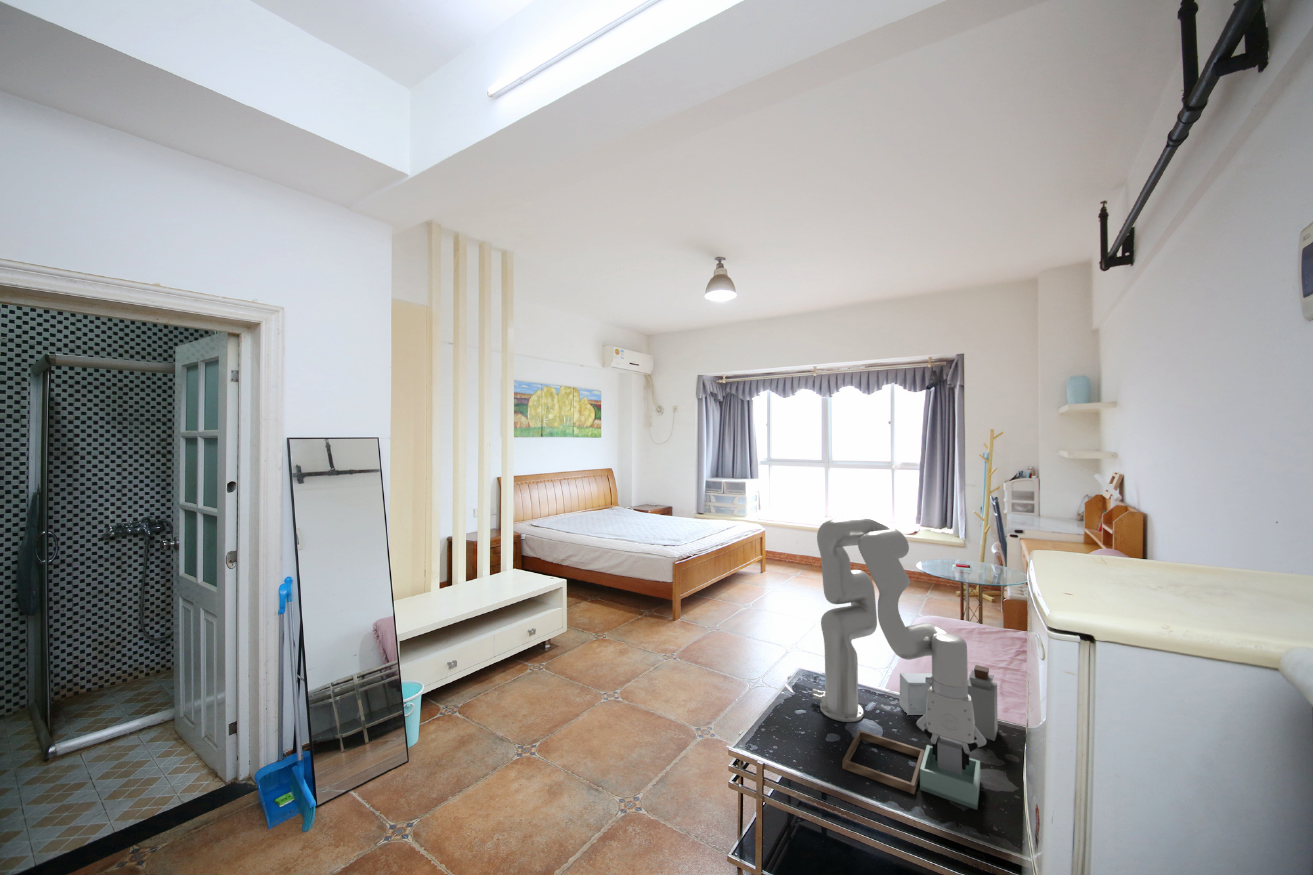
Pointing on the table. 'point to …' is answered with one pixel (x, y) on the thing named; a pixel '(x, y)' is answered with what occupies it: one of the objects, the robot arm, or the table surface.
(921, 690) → the skincare box
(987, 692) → the perfume bottle
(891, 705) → the table surface
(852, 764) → the brown wooden frame
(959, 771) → the stone block
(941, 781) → the sage green bin
